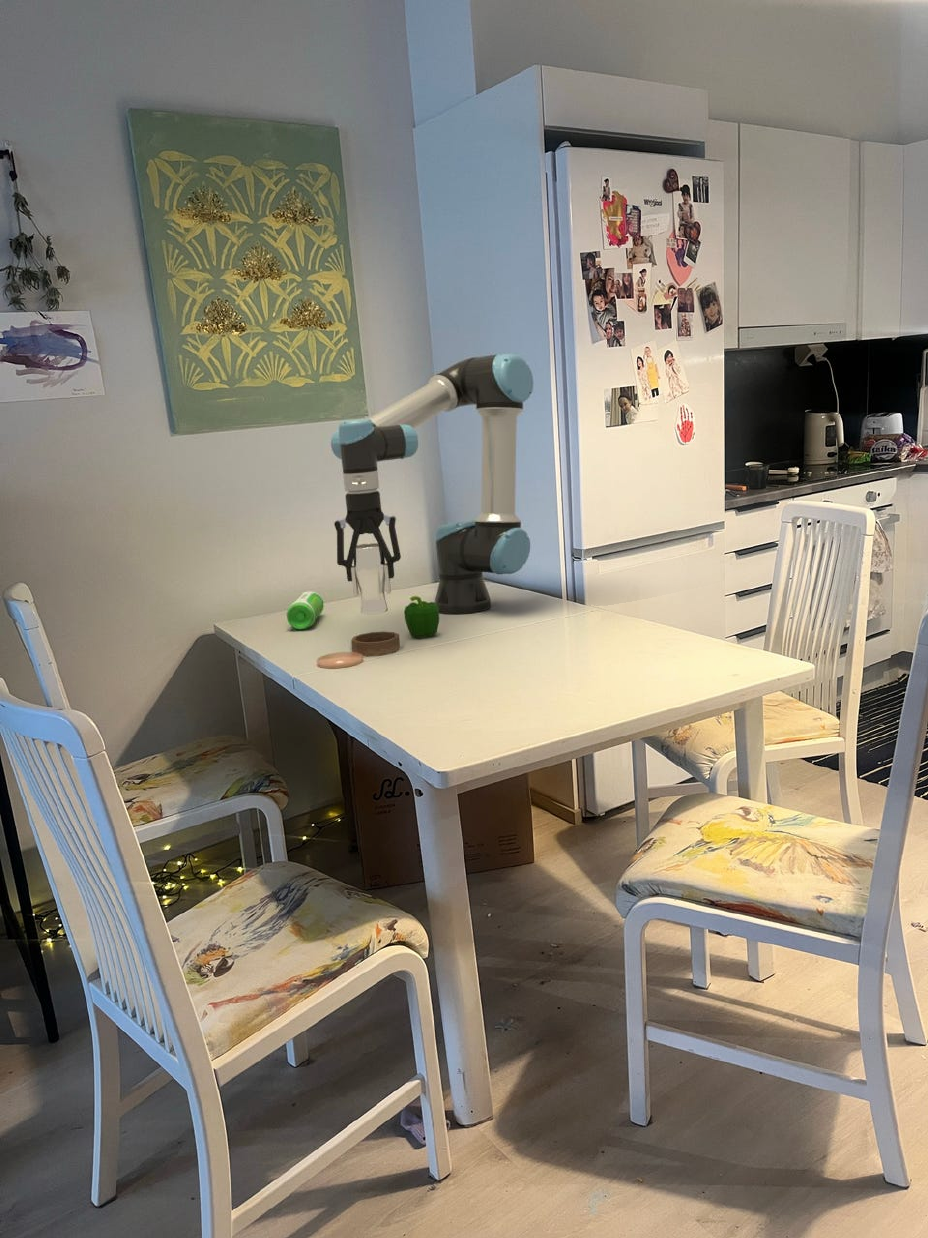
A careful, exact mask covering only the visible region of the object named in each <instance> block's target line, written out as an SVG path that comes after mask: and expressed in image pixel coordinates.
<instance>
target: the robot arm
mask: <svg viewBox="0 0 928 1238" xmlns="http://www.w3.org/2000/svg"><path fill="white" fill-rule="evenodd" d="M532 373H533V372H532V370H531V368H530V366H529V364H528V363H527V362H526V360H525V359H524V358H523V357H522V356H520V355H518V354H515V353H497V354H493V355H492V354H489V355H486V356H478V357H469V358H465V359H463V360H461V361H459V362H457V363H455V364H453V365H451V366H449V367H447V368H445V369H443V370H442V371H441V372H439V373H437V374H435V375H434V376H432V377H431V378H430V379H429V380H428V383H427V384H425V385H424V386H423V387H420V388H419V389H417V390H415V391H414V392H412V393H409V394H408V395H407V396H404V397H403V398H401V399H400V400H397V401H396V402H394V403H393V404H391V405H389V406H388V407H387V406H386V408H384V409H382V410H380V411H378V412H377V413H375V414H373V415H372V416H370V417H368V418H367V419H366V418H364V419H354V420H344V421H341V422H340V423H339V425H338V429H337V430H336V431H334V433H333V434H332V436H331V439H330V447H331V451H332V453H333V454H334V455H335V457H337V458H338V459H339V460H341V466H342V473H343V474H342V475H343V487H344V491H345V492H347V493H345V504H346V516H345V518H343V519H337V520H336V521H334V524H333V525H334V528H335V531H336V563H337V565H338V566H342V567H345V570H346V578H347V581H348V582H352V591H353V597H358V596H359V595H360V594H359V593H360V590H359V586H358V582H357V578H356V574H355V568H354V557H353V556H354V547H355V548H356V546H357V545H358V542H359V538H360V536H361V535H364V534H371V535H372V534H373V537H374V538H375V540H376V542H377V543H378V545H379V546H381V551H382V553H383V555H384V558H385V565H384V572H385V590H386V595H390V594H391V593H392V587H391V579H394V577H395V567H394V563H396V562H399V561H400V560H401V558H402V556H401V555H402V554H401V551H400V545H399V541H398V535H397V531H396V523H397V518H396V516H395V515H385V514H384V512H383V511H382V503H381V494H380V491H379V490H378V489H379V488H380V484H379V483H380V482H379V471H378V463H379V462H383V461H393V460H404V459H406V458H407V459H408V458H410V457H411V458H412V456H414V455H415V454H416V452H417V451H418V447H419V436H418V434H417V431H416V430H415V429H416V428H417V427H418V426H420V425H422V424H424V423H426V422H427V421H429V420H430V419H432V418H434V417H436V416H437V415H439V414H441V413H442V412H446V413H449V412H452V411H453V410H455V409H458V408H460V407H464V406H471V405H472V406H473V405H476V406H475V408H476V412H477V413H478V414H479V415H480V417H481V421H482V423H481V424H482V425H481V428H482V429H481V432H482V433H481V435H482V436H481V492H480V493H481V495H480V496H481V498H480V499H481V501H480V502H481V505H480V506H481V510H480V511H481V512H480V514H479V515H478V516H477V518H476V519H474V520H473V519H472V520H465V521H460V522H453V523H449V524H443V525H442V524H441V525H440V526H438V527H437V528H436V531H435V548H436V557H437V568H438V586H437V590H436V594H435V598H434V602H435V603H437V605H438V607H439V614H440V613H441V614H445V615H446V614H449V615H450V614H451V615H457V614H458V615H460V614H463V615H464V614H472V613H479V612H483V611H486V610H488V609H490V608H491V607H492V601H491V596H490V593H489V591H488V588H487V585H486V583H485V580H484V576H483V573H487V574H488V573H489V574H491V573H492V574H496V575H512V574H514V573H515V574H516V573H518V571H520V570H521V569H522V568H523V566H524V565H525V564H526V562H527V561H528V558H529V556H530V552H531V540H530V537H529V536H528V533H527V532H526V531H525V530H524V529H522V526H521V525H522V520H521V519H520V517H518V516H517V514H516V484H517V483H516V478H517V476H516V475H517V474H516V472H517V471H516V469H517V422H518V420H517V418H518V416H520V415H521V413H523V412H524V402H526V401H527V400H528V399H529V398H530V397H531V394H532V393H533V390H534V378H533V374H532ZM383 521H384V522H385V525H386V526H387V527H388V533H389V537H390V543H391V547H392V552H393V555H392V554H391V552H390V549H389V547H388V546H387V544H386V543H387V542H386V541H385V540H384V537H383V535H382V532H381V530H380V528H379V527H380V526H381V524H382V523H383ZM346 524H348V526H349V527H350V528H351V530H352V531H353V532H352V537H351V541H350V544H349V545H350V546H349V549H348V552H347V556H346V559H345V530H344V529H346Z"/></svg>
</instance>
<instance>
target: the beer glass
mask: <svg viewBox="0 0 928 1238" xmlns="http://www.w3.org/2000/svg"><path fill="white" fill-rule="evenodd" d="M353 557H354V559H353V566H354V568H355V574H356V578H357V582H358V590H359V593H360V599H361V601H360V603H361V604H360V613H361V614H364V615H376V614H377V615H378V614H383V613H385V612H387V611H388V610H389V609H388V605H387V601H386V595H385V589H386V582H385V572H384V565H385V563H386V560H385V558H384V555H383V553H382V551H381V546H379V545H378V543H376V542H373V543H371V542H370V543H362V544H357V546H356V548H355V547H354V556H353Z"/></svg>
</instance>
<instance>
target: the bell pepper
mask: <svg viewBox="0 0 928 1238" xmlns="http://www.w3.org/2000/svg"><path fill="white" fill-rule="evenodd" d="M409 599H410V601H411V602H410V603H408V605H406V606H405V608H404V620H405V624H406V627H407V630H408V633H409V635H410V637H412V638H415V639H421V638H425V637H426V638H428V637H429V638H430V637H434V636H436V635H437V632H438V628H439V623H440V613H439V607H438V605H437V603H435V602H432V601H430V602H427V601H425V600H422V599H421V597H419V595H418V596H417V595H414V596H413V595H412V596H411V597H410V598H409ZM414 601H416V602H414Z"/></svg>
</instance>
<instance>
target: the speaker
mask: <svg viewBox="0 0 928 1238" xmlns="http://www.w3.org/2000/svg"><path fill="white" fill-rule="evenodd" d="M323 610H324V600H323V598H322V597H321V595H320V594H319V593H317V592H316V591H311V590H310V591H309V590H308V591H305V592H302V593H301V594H300V595H299V596H298V597H297V598H296V599H295V600H294V601H293V602H292V603H291V604H290V605H289V607H288V609H287V611H286V620H287V622H288V625H290V626H291V627H292V628H294V629H296V630H302V629H303V630H306V629H309V628H310V627H312V626H313V625H314V624H315V622H316V621H317V618H318V617H319V616H320V615H321V614H322V612H323ZM303 630H302V631H303Z"/></svg>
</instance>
